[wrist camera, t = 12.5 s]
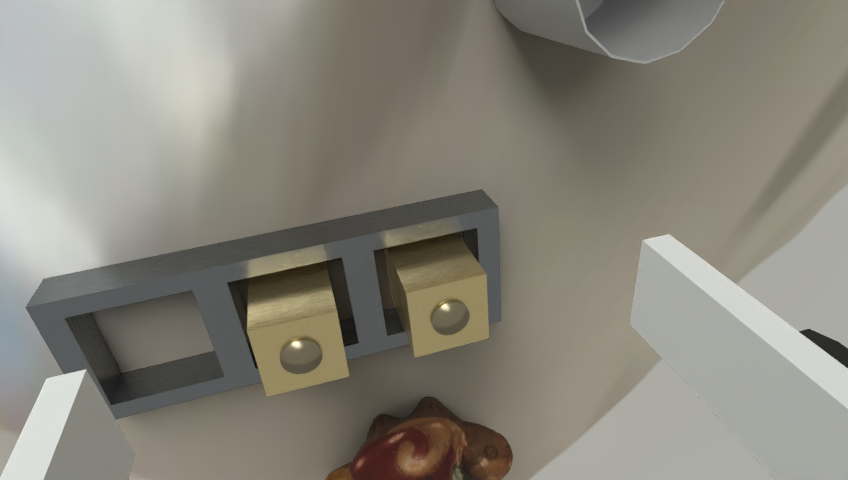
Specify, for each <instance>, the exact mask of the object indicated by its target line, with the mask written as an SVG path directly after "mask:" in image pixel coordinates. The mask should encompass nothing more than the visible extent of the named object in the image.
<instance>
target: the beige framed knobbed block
mask: <svg viewBox="0 0 848 480" xmlns="http://www.w3.org/2000/svg"><path fill="white" fill-rule="evenodd" d="M384 254H385V260H386V267H387V273H388V280H389V286H390V293H391V298H392V301H393V303H394V306H395V308H396V311H397V313H398V316H399V319H400V321H401V324H402V326H403V329H404V331H405V334H406V336H407V339H408V342H409V344H410V347H411V349H412V352H413V354H414V357H415V358H416V357H420V356H423V355H427V354H431V353H435V352H439V351H443V350H446V349H450V348H454V347H458V346H462V345H466V344H469V343H473V342H477V341H481V340H485V339H488V338H489V323H488V298H487V274H486V273H485V271H484V270H483V268H482V267H481V266H480V264H479V263H478V261H477V260H476V259H475V257H474V256H473V254H472V253H471V252H470V250H469V249H468V247H467V246H466V245H465V243H464V242H463V240H462V239H461V238H460V236H459V235H458V233H457V232H456V233H451V234H447V235H442V236H438V237H433V238H428V239H424V240H419V241H415V242H410V243H405V244H401V245H396V246H392V247H387V248H384Z"/></svg>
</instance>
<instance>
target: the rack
mask: <svg viewBox="0 0 848 480" xmlns="http://www.w3.org/2000/svg"><path fill="white" fill-rule="evenodd" d="M460 231H464V243H465V245H466V246H467V247H468V249H469V250H470V252H471V253H472V254H473V256H474V257H475V259H476V260H477V261H478V263H479V264H480V266H481V267H482V268H483V270H484V271H485V273H486V274H487V298H488V323H489V324H490V323H494V322H498V321H501V298H500V258H499V218H498V206H497V205H496V204H495V203H494V202H493V201H492V200H491V199H490V198H489V197H488V196H487V195H486V194H485V192H484V191H483V190H477V191H472V192H467V193H462V194H457V195H452V196H448V197H443V198H438V199H433V200H428V201H423V202H418V203H413V204H408V205H404V206H399V207H394V208H389V209H384V210H379V211H374V212H369V213H364V214H360V215H355V216H350V217H345V218H340V219H335V220H330V221H325V222H320V223H316V224H311V225H306V226H301V227H296V228H291V229H286V230H281V231H276V232H272V233H267V234H262V235H257V236H252V237H247V238H242V239H237V240H232V241H228V242H223V243H218V244H213V245H208V246H203V247H198V248H193V249H188V250H184V251H179V252H174V253H169V254H164V255H159V256H154V257H149V258H144V259H139V260H135V261H130V262H125V263H120V264H115V265H110V266H105V267H100V268H95V269H91V270H86V271H81V272H76V273H71V274H66V275H61V276H56V277H51V278H47V279H43V281H42V283H41V284H40V286H39V287H38V289H37V290H36V292H35V293H34V295H33V296H32V298H31V300H30V301H29V303H28V304H27V306H26V309H27V311H28V313H29V314H30V316H31V318H32V320H33V321H34V323H35V325H36V326H37V328H38V330H39V332H40V333H41V335H42V337H43V339H44V340H45V342H46V344H47V346H48V347H49V349H50V351H51V353H52V354H53V356H54V358H55V359H56V361H57V363H58V365H59V366H60V368H61V370H62V372H63V373H64V374H68V373H72V372H77V371H81V370H85V369H87V371H88V373H89V375H90V376H91V378H92V380H93V381H94V383H95V385H96V387H97V388H98V390H99V392H100V394H101V395H102V397H103V399H104V400H105V402H106V404H107V406H108V407H109V409H110V411H111V412H112V414H113V416H114V418H115V419H119V418H122V417H126V416H130V415H134V414H138V413H142V412H146V411H150V410H154V409H158V408H162V407H166V406H169V405H173V404H177V403H181V402H185V401H189V400H193V399H197V398H201V397H205V396H209V395H212V394H216V393H220V392H224V391H228V390H232V389H236V388H240V387H244V386H248V385H252V384H255V383H259V382H262V379H261V376H260V372H259V369H258V366H257V362H256V359H255V356H254V353H253V349H252V346H251V343H250V339H249V336H248V333H247V312H246V309H245V306H244V303H243V300H242V297H241V294H240V291H239V288H238V284H237V281H236V280H241V279H245V278H250V277H254V276H259V275H264V274H268V273H273V272H277V271H282V270H286V269H291V268H296V267H300V266H305V265H309V264H314V263H319V262H323V261H328V260H332V259H337V258H340V259H341V264H342V269H343V274H344V279H345V284H346V289H347V294H348V299H349V304H350V309H351V314H352V318H350V319H346V320H342V321H339V324H340V329H341V334H342V340H343V345H344V350H345V355H346V360H349V359H353V358H357V357H361V356H365V355H369V354H373V353H377V352H381V351H385V350H388V349H392V348H396V347H400V346H404V345H408V344H409V342H408V339H407V336H406V334H405V331H404V329H403V326H402V324H401V321H400V319H399V316H398V313H397V311H396V308H392V309H387V310H383V307H382V301H381V295H380V289H379V283H378V277H377V270H376V264H375V258H374V252H373V250H378V249H383V248H387V247H392V246H396V245H401V244H405V243H410V242H415V241H419V240H424V239H428V238H433V237H438V236H442V235H447V234H451V233H456V232H460ZM190 290H192V291H193V293H194V296H195V299H196V301H197V304H198V307H199V309H200V312H201V315H202V317H203V320H204V323H205V325H206V328H207V331H208V333H209V336H210V339H211V341H212V344H213V347H214V349H215V351H213V352H209V353H205V354H201V355H197V356H192V357H188V358H184V359H180V360H176V361H172V362H167V363H163V364H159V365H155V366H151V367H147V368H143V369H138V370H134V371H130V372H126V373H122V374H121V372H120V370H119V368H118V366H117V364H116V362H115V360H114V358H113V356H112V354H111V352H110V350H109V348H108V346H107V344H106V342H105V340H104V338H103V336H102V334H101V332H100V330H99V328H98V326H97V324H96V322H95V320H94V319H93V317H92V315H91V313H90V312H94V311H99V310H103V309H108V308H113V307H117V306H122V305H126V304H131V303H135V302H140V301H145V300H149V299H154V298H158V297H163V296H168V295H172V294H177V293H181V292H186V291H190Z"/></svg>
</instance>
